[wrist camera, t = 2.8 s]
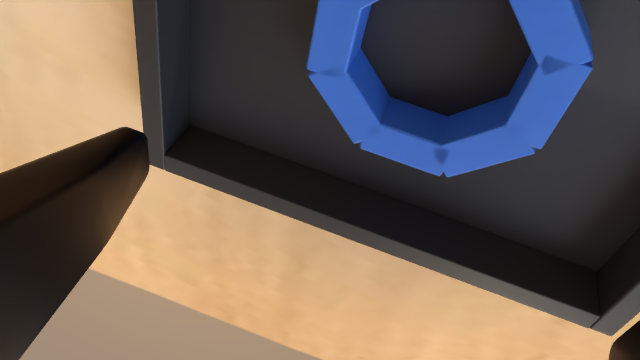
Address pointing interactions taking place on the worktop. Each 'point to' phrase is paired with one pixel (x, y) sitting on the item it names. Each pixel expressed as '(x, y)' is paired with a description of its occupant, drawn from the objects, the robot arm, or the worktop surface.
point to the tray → (397, 178)
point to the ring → (464, 127)
